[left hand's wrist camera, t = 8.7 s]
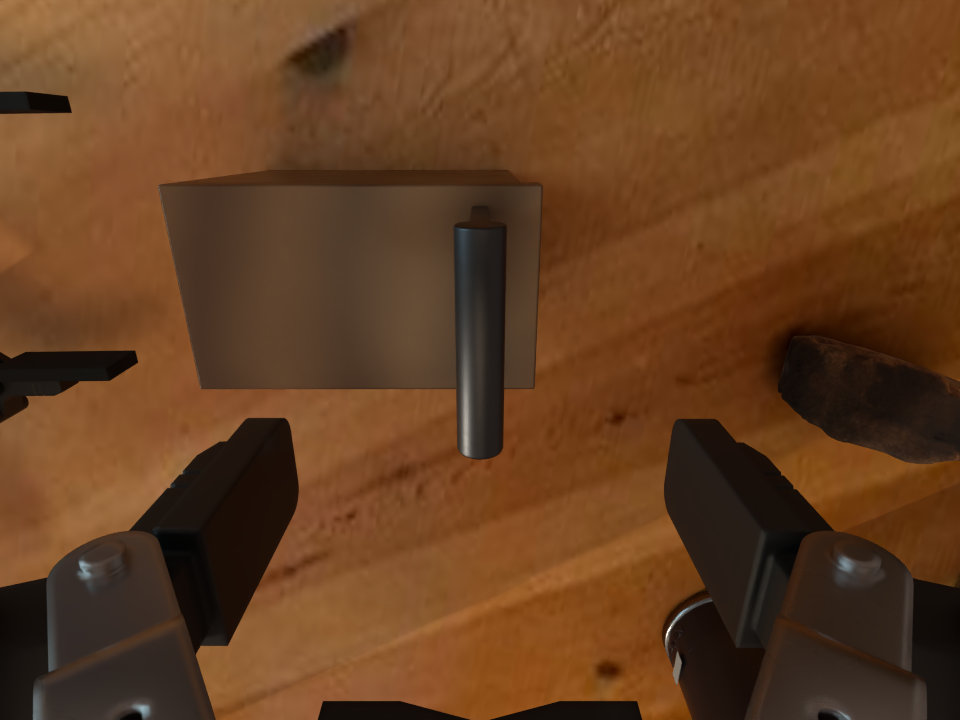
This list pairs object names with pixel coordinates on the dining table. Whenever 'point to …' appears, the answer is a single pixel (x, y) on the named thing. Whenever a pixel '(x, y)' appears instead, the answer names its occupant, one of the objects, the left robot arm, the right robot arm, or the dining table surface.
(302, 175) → the chest
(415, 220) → the lid
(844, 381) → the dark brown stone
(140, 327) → the dining table surface
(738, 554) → the left robot arm
